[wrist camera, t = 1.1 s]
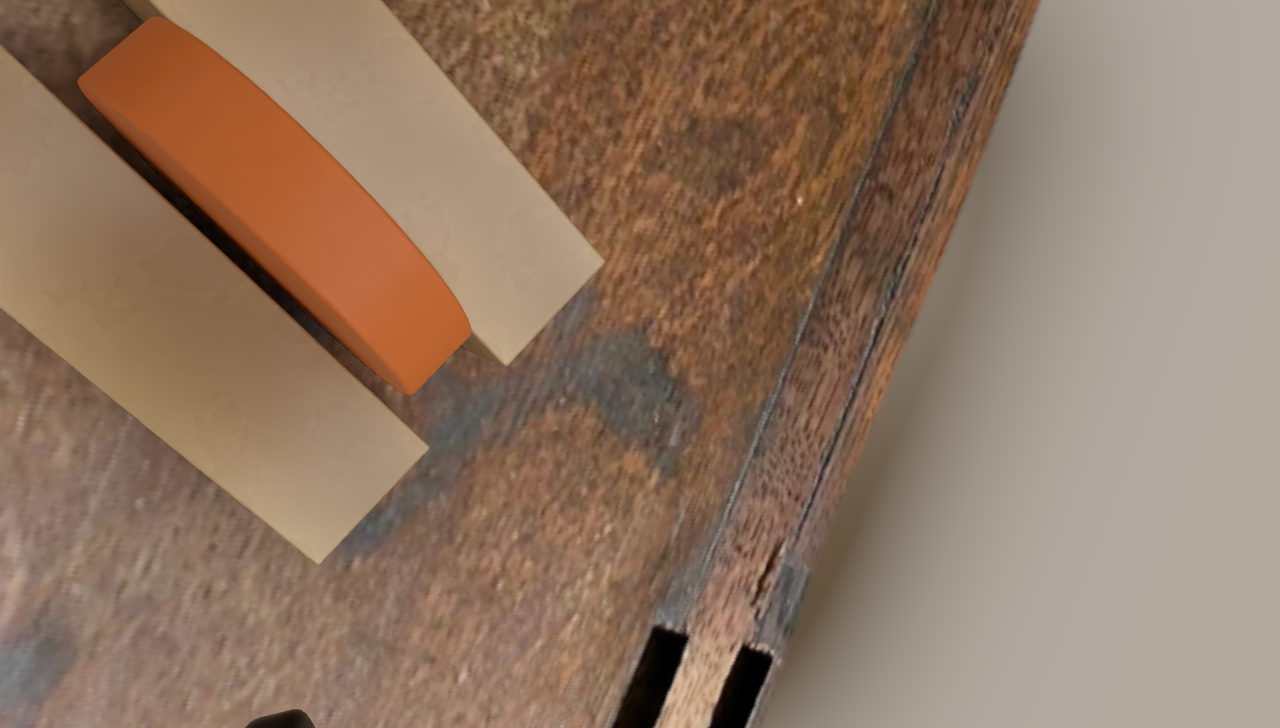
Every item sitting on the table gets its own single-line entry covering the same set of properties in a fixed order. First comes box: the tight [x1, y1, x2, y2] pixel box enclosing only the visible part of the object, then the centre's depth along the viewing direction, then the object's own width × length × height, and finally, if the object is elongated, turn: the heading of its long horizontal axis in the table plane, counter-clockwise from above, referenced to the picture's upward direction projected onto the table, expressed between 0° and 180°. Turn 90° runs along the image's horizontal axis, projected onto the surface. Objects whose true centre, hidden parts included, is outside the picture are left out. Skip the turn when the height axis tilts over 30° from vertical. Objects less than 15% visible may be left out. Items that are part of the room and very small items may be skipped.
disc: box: [77, 17, 471, 396], centre depth 17 cm, size 2×7×7 cm, turn 43°
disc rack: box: [0, 0, 605, 565], centre depth 19 cm, size 8×10×2 cm
